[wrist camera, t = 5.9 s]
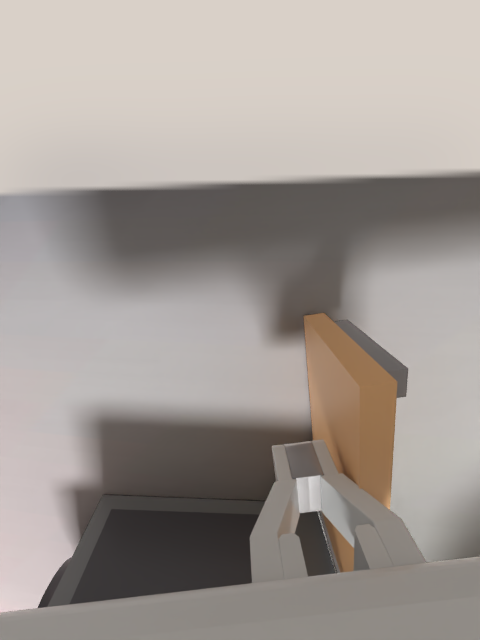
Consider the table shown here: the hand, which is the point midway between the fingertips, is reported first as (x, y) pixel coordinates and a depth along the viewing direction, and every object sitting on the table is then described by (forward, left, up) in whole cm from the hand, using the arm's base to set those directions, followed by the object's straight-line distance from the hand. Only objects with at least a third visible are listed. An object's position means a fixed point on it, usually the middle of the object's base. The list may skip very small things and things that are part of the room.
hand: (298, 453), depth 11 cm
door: (-3, +1, -4) cm, 5 cm away
